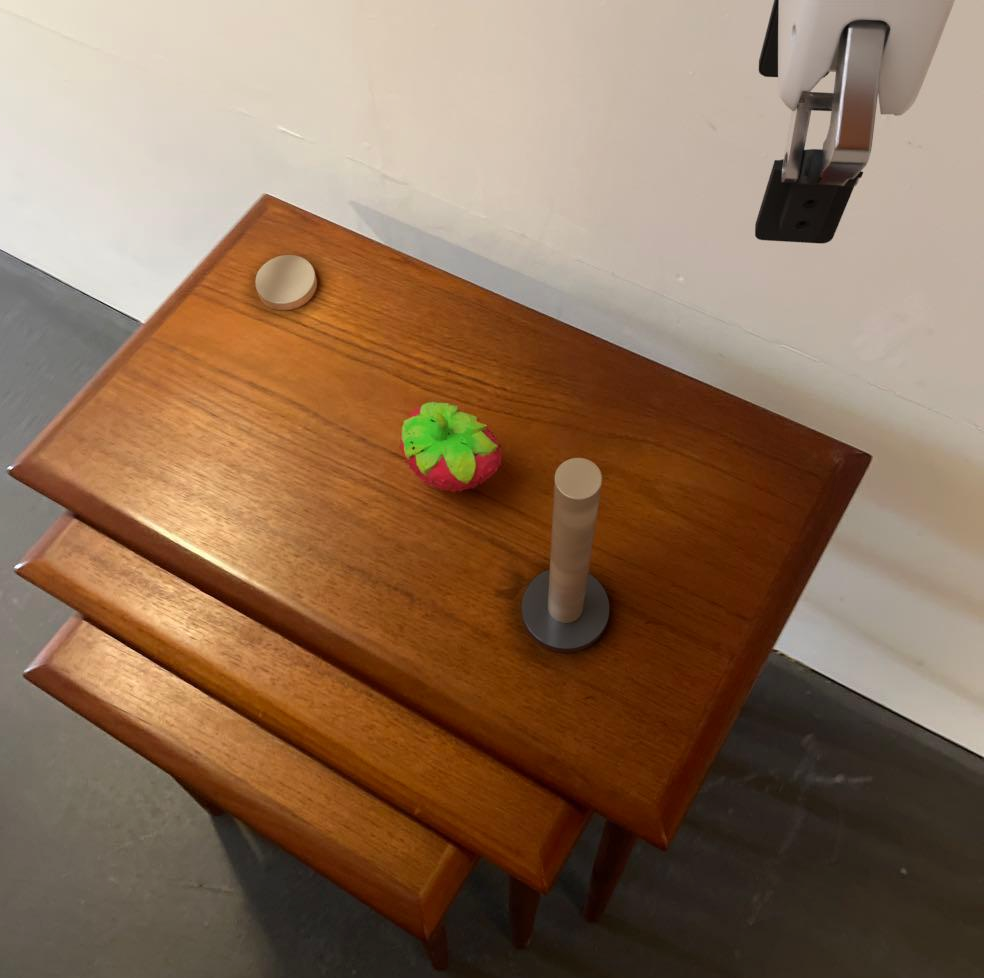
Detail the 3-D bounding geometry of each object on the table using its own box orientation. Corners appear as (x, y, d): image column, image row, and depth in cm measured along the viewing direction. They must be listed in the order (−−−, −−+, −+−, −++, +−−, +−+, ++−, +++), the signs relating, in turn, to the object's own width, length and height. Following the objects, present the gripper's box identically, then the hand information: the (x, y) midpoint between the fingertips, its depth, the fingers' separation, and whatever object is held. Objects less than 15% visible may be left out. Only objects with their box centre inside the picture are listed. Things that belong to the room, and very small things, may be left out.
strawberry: (472, 536, 70) (463, 471, 61) (392, 484, 73) (372, 414, 64) (518, 478, 72) (517, 406, 63) (438, 429, 74) (426, 352, 65)
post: (611, 576, 68) (642, 431, 50) (605, 658, 66) (634, 537, 48) (526, 567, 69) (525, 422, 51) (516, 648, 67) (512, 525, 48)
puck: (322, 264, 82) (320, 256, 81) (310, 312, 80) (308, 305, 79) (265, 260, 82) (262, 252, 81) (252, 308, 80) (249, 301, 79)
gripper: (1117, -111, 24) (886, 314, 40) (1046, -461, 31) (873, 19, 47) (804, -115, 25) (698, 302, 41) (803, -453, 32) (712, 15, 48)
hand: (791, 151), depth 44 cm, fingers open, 9 cm apart
